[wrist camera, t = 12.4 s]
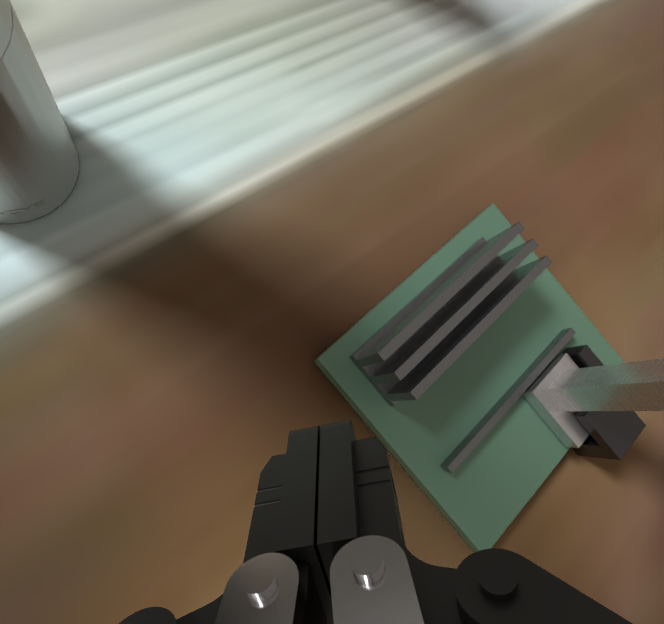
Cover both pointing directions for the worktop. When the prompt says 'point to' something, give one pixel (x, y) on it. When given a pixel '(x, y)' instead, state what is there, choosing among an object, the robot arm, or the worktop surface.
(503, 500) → the board
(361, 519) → the robot arm
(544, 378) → the clip lever
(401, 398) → the heatsink
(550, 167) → the worktop surface
